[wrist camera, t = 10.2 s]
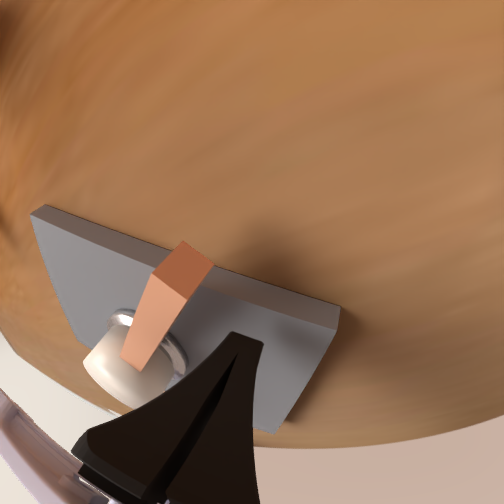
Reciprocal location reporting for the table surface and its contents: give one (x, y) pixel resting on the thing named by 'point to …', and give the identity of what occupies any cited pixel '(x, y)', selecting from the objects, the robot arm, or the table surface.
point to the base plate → (186, 308)
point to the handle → (148, 332)
